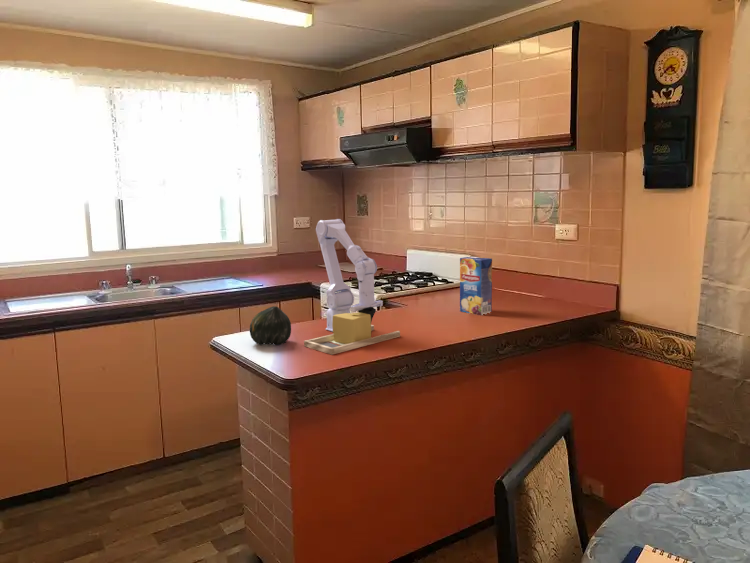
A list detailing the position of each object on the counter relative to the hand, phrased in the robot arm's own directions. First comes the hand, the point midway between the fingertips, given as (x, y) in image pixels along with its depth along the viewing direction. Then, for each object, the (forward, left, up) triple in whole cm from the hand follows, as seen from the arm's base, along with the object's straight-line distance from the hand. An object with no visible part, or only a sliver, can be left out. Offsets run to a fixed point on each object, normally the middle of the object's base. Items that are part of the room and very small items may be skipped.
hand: (367, 327), depth 228 cm
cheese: (0, -7, -4) cm, 8 cm away
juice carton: (+3, +62, -4) cm, 62 cm away
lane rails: (0, -7, -4) cm, 8 cm away
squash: (-20, -30, -4) cm, 36 cm away
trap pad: (0, -19, -4) cm, 19 cm away
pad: (0, -8, -4) cm, 8 cm away
